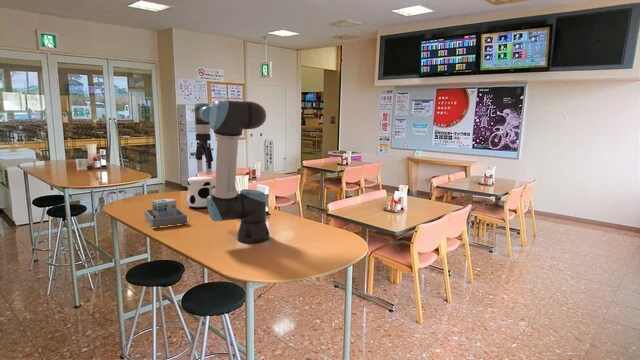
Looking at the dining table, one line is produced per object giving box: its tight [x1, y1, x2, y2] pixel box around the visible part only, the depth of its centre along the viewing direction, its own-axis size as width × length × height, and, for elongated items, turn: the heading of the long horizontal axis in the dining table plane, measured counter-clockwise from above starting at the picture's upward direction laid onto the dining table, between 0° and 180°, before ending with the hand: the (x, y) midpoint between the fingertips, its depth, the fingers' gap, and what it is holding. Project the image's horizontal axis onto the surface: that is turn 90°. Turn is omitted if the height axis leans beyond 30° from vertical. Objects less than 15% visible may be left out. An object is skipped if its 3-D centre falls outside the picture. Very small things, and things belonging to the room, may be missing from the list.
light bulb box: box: [151, 198, 177, 219], centre depth 208 cm, size 11×7×11 cm, turn 137°
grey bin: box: [143, 206, 188, 228], centre depth 209 cm, size 22×17×5 cm
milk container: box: [186, 176, 215, 209], centre depth 243 cm, size 17×17×18 cm
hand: (204, 173), depth 206 cm, fingers open, 13 cm apart
